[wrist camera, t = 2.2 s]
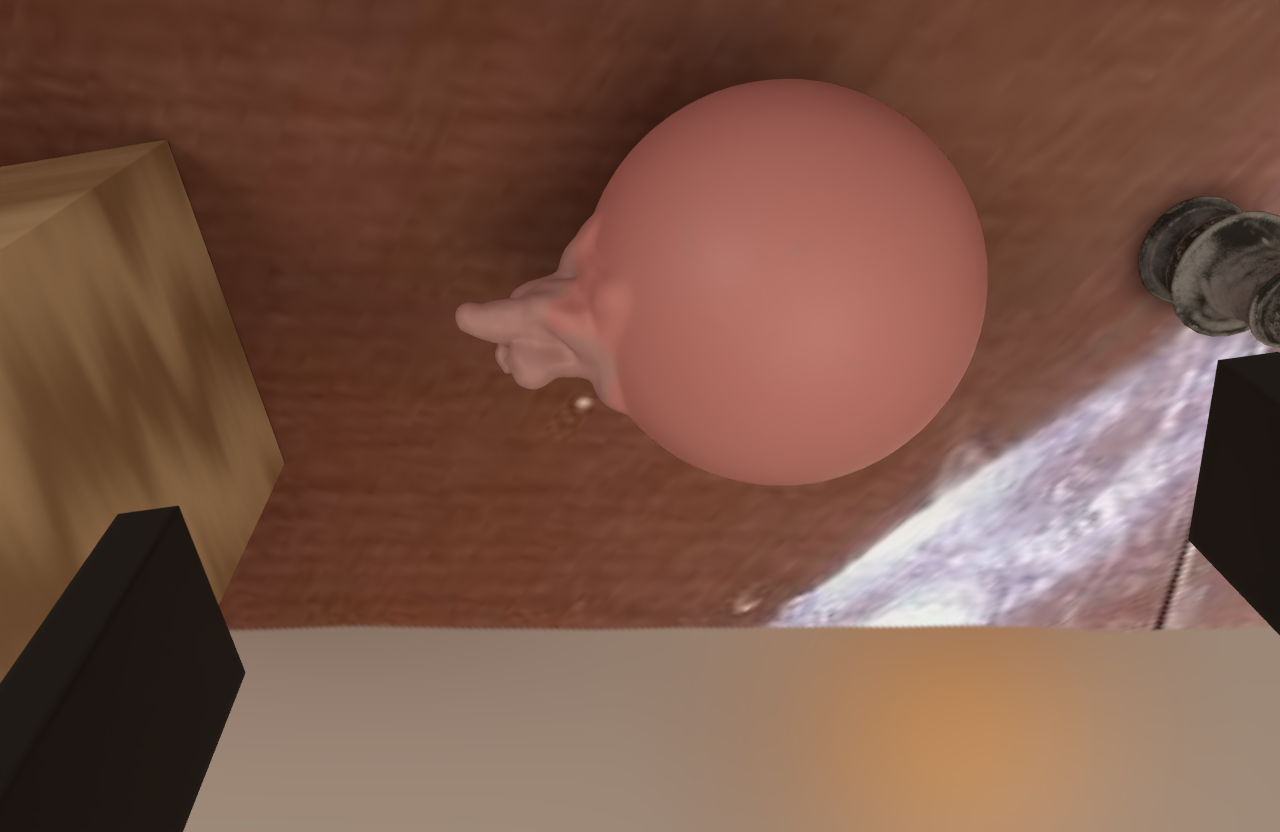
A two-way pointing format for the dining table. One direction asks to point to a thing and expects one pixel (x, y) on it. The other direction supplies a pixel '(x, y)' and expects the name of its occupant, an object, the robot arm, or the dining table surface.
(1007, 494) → the dining table surface
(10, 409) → the step stand
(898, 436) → the balloon
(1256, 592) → the robot arm
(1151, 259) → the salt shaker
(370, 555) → the dining table surface
